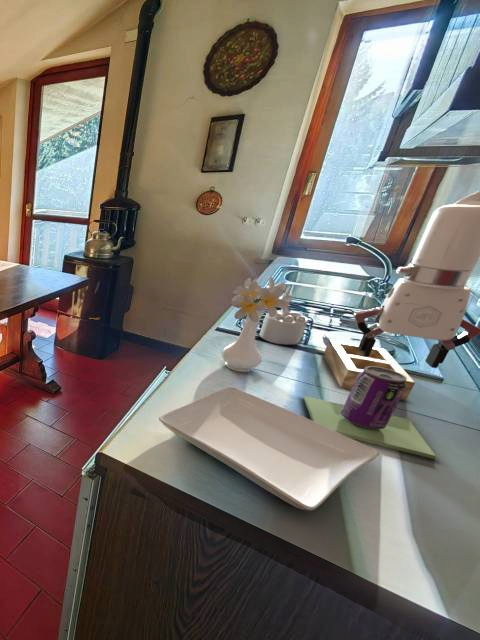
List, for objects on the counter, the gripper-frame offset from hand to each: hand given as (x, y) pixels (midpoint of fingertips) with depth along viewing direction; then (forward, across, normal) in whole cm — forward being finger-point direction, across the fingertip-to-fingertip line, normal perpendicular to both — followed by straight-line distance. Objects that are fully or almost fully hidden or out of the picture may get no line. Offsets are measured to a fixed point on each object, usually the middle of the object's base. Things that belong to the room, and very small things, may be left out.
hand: (396, 359), depth 78 cm
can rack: (+16, +5, +30) cm, 34 cm away
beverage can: (+15, -1, 0) cm, 15 cm away
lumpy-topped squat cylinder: (+17, -11, +50) cm, 53 cm away
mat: (+16, -1, 0) cm, 16 cm away
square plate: (+16, -21, -21) cm, 34 cm away
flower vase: (+16, -23, +17) cm, 32 cm away
